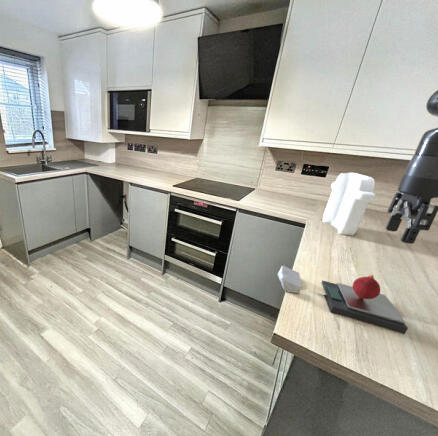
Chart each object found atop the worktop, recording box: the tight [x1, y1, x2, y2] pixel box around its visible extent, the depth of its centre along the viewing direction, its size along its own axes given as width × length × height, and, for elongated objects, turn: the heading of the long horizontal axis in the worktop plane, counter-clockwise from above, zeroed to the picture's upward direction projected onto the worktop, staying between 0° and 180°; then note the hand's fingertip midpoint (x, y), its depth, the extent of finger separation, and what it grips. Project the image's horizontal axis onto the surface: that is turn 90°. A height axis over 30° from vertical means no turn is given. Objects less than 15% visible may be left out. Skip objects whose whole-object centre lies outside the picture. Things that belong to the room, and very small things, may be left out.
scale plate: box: [335, 282, 406, 325], centre depth 68 cm, size 12×12×1 cm
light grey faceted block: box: [277, 265, 302, 294], centre depth 77 cm, size 10×6×6 cm, turn 149°
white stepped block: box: [322, 172, 376, 236], centre depth 125 cm, size 27×11×30 cm, turn 168°
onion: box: [352, 274, 381, 299], centre depth 67 cm, size 6×6×8 cm
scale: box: [321, 280, 409, 335], centre depth 69 cm, size 16×14×2 cm
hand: (398, 236), depth 62 cm, fingers open, 8 cm apart
